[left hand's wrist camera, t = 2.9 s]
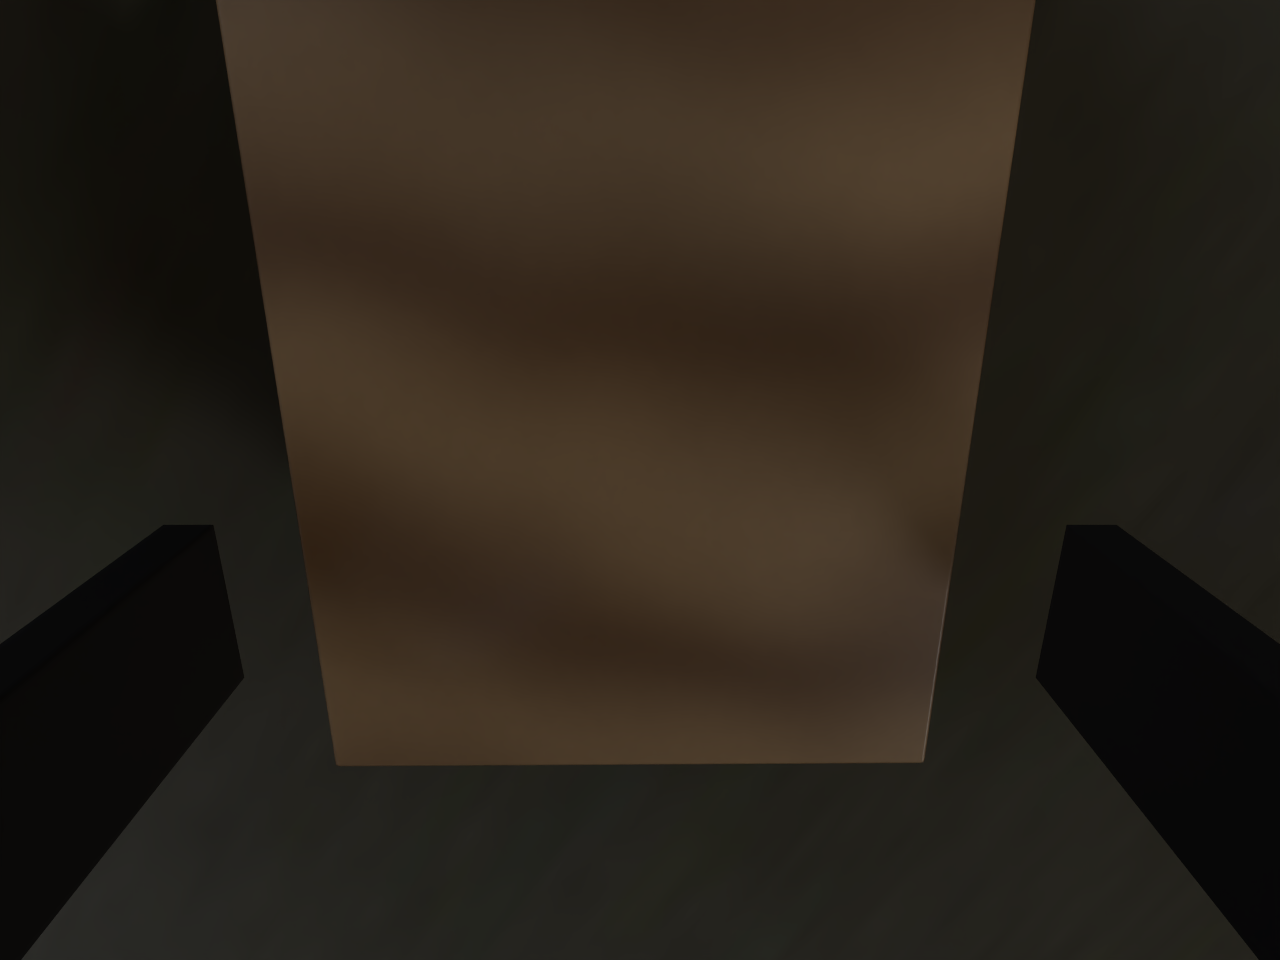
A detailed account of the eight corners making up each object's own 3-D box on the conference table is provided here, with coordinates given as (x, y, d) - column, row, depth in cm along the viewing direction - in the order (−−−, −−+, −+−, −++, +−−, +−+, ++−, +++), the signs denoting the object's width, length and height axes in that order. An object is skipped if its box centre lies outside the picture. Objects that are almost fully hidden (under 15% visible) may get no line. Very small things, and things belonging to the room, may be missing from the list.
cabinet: (370, -181, 17) (132, -514, 9) (884, -179, 18) (1112, -507, 9) (440, 562, 24) (334, 768, 15) (822, 560, 24) (925, 764, 15)
